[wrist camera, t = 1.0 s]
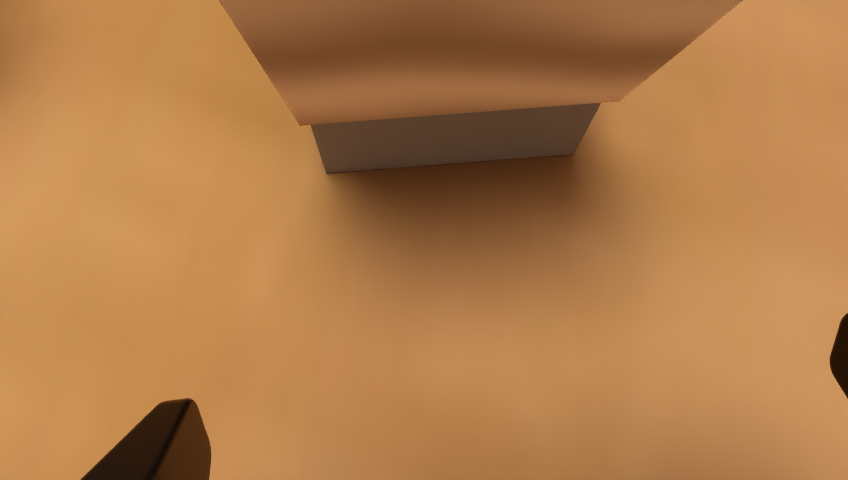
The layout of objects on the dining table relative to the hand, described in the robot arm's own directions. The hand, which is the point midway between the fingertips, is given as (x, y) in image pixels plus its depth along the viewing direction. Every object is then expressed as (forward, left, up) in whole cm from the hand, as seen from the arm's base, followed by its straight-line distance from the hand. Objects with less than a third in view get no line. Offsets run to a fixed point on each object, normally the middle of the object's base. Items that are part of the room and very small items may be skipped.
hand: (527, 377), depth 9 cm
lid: (+6, -6, -4) cm, 10 cm away
